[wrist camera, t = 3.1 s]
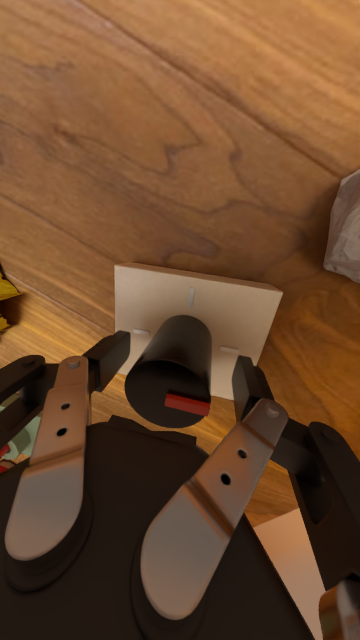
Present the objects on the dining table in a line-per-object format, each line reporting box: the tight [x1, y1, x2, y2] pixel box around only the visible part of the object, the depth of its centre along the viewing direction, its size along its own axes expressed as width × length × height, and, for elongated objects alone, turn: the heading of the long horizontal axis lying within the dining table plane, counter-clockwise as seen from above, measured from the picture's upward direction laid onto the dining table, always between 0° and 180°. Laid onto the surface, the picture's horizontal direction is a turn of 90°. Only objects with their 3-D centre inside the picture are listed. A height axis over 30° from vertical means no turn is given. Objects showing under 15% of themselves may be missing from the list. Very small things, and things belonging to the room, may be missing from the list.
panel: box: [114, 262, 283, 400], centre depth 16 cm, size 12×10×3 cm
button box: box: [0, 394, 43, 460], centre depth 26 cm, size 12×10×4 cm
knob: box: [125, 315, 212, 428], centre depth 11 cm, size 4×4×6 cm
